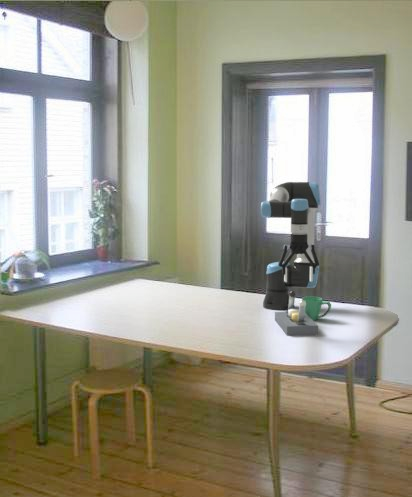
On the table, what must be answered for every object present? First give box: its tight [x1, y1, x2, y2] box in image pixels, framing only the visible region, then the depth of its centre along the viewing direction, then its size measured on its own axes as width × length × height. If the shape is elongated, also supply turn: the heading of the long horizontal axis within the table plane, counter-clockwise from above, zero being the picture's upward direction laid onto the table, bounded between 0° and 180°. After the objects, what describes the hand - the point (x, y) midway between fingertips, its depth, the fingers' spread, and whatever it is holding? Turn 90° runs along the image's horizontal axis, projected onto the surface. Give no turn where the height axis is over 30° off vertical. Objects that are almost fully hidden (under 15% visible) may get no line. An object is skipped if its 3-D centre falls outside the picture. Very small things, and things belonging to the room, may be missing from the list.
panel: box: [274, 310, 319, 336], centre depth 332 cm, size 28×14×4 cm, turn 6°
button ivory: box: [287, 308, 299, 318], centre depth 336 cm, size 5×5×4 cm
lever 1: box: [287, 290, 297, 311], centre depth 340 cm, size 3×3×11 cm
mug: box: [301, 296, 332, 321], centre depth 346 cm, size 15×10×10 cm
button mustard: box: [292, 313, 299, 322], centre depth 329 cm, size 5×5×4 cm
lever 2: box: [298, 299, 306, 323], centre depth 319 cm, size 3×3×11 cm
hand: (298, 281), depth 326 cm, fingers open, 11 cm apart
